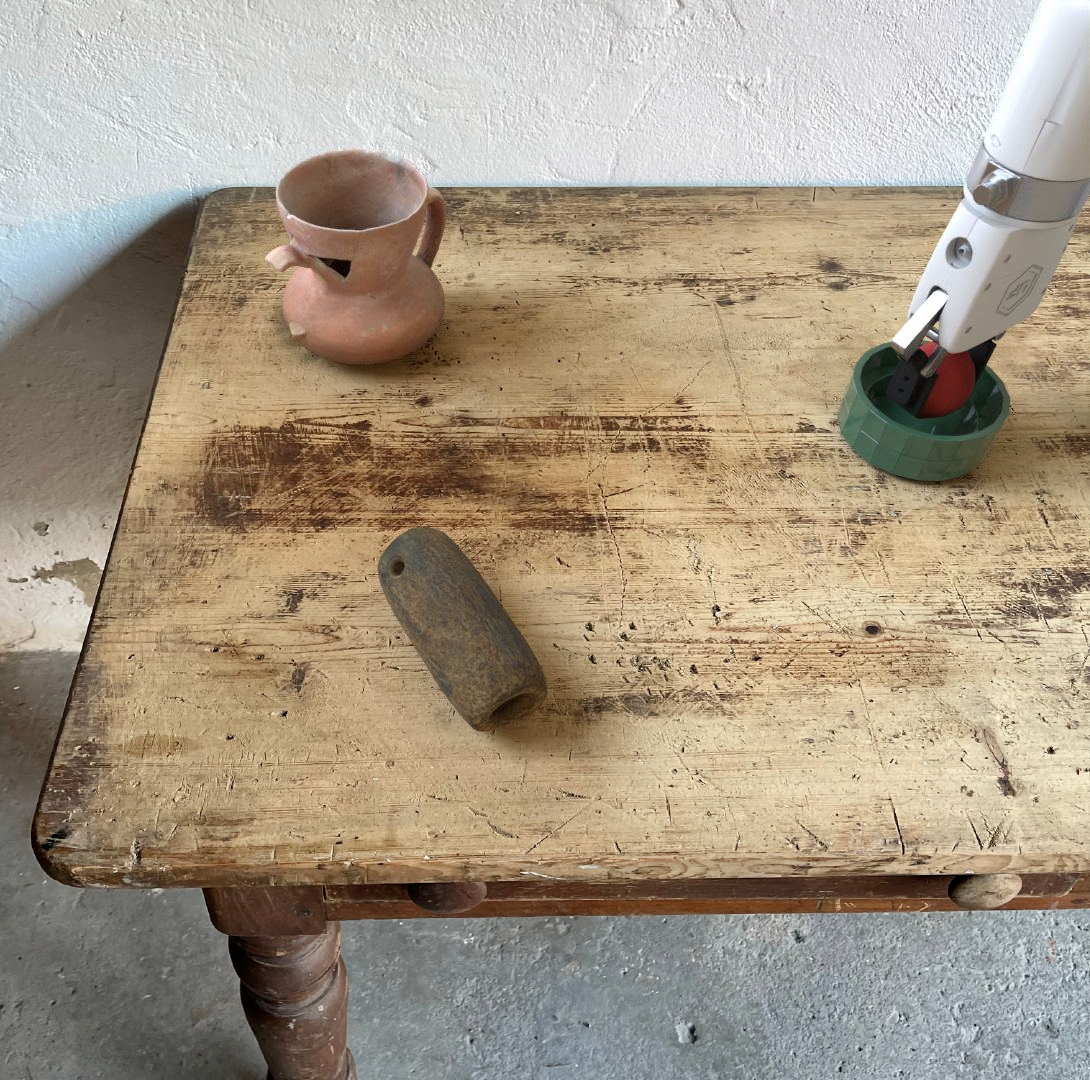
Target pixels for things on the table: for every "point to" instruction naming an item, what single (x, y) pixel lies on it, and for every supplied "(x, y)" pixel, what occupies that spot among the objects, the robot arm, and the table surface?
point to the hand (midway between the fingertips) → (931, 387)
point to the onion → (949, 383)
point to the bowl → (918, 423)
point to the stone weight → (461, 630)
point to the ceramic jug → (360, 255)
